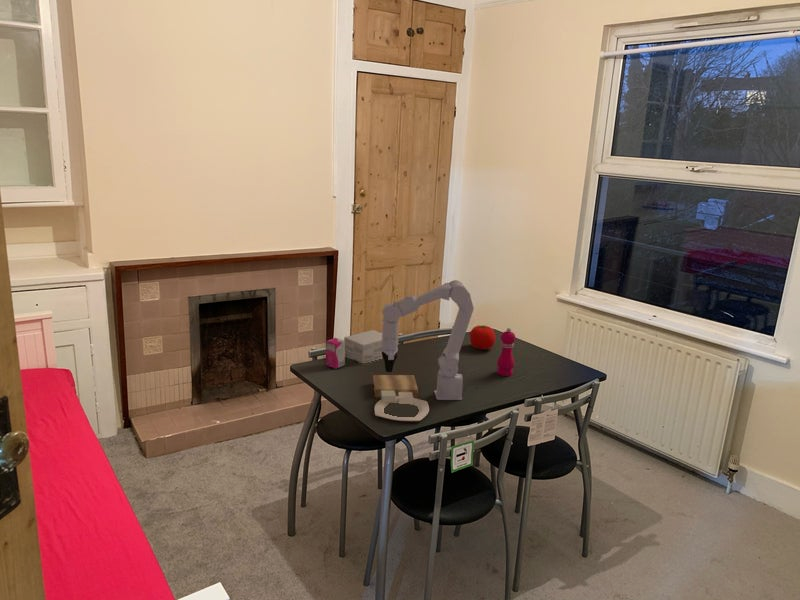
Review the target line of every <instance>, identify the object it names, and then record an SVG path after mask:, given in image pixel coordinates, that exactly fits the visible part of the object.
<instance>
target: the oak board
mask: <svg viewBox="0 0 800 600" xmlns="http://www.w3.org/2000/svg"><path fill="white" fill-rule="evenodd" d="M372 377H373V378H372V379H373V380H372V384H373V385H374V387H373V393H375V395H374V398H375V397H381V390H395V394H396V396H398V393H399V392H412V394H413V398H416V399H419V398H418V397H419V389H418V387H419V386H418V385H417V381H416V377H415V375H414V374H413V375H412V374H404V375H403V374H373V376H372ZM373 385H372V386H373Z"/></svg>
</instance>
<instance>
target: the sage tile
mask: <svg viewBox="0 0 800 600" xmlns="http://www.w3.org/2000/svg"><path fill="white" fill-rule="evenodd" d="M380 400H382V402H396V394H395V390H381V398H380Z"/></svg>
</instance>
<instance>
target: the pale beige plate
mask: <svg viewBox="0 0 800 600" xmlns="http://www.w3.org/2000/svg"><path fill="white" fill-rule="evenodd" d="M389 403H399V400H398V396H396V402H382V400H381V399H380V400H378V401H377V402H376V403H375V405H374V409H373V410H374V415H375V416H376V417H380V418H384V419H388V420H393V421H400V422H420V421H422V420H423V419H424V418H425V417H426V416H427V415H428V414H429V412H430V406H429V403H428V401H427V400H422V399H420V398H413V404H410V405H415V406H417V407H418V409H419V412H418V414H417V415H416V416H415V417H397V416H392V415H389V414H385V413H384V408H385V407H386V406H387V405H388V404H389Z"/></svg>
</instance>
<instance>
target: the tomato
mask: <svg viewBox="0 0 800 600" xmlns="http://www.w3.org/2000/svg"><path fill="white" fill-rule="evenodd" d="M469 342H470V344H471V346H472V347H473V348H475V349H476V350H477V349H478V350H489V349H491V348H493V347H494V345H495V343H496V333H495V331H494V330H493V328H492V327H490V326H487V325H475V326H474V327H473V328H472V329H471V330H470V333H469Z"/></svg>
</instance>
